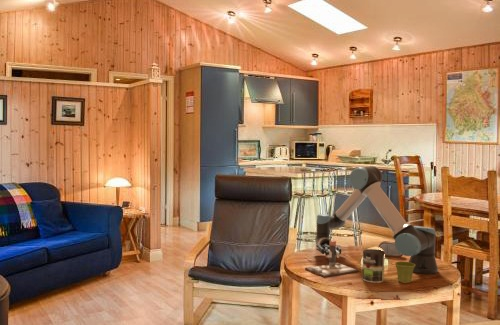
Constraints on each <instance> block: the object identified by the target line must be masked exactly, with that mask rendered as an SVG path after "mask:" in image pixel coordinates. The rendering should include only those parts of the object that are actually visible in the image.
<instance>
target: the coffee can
mask: <svg viewBox="0 0 500 325" xmlns="http://www.w3.org/2000/svg"><path fill="white" fill-rule="evenodd" d="M362 253H363V254H362V277H361V278H362V281H364V282H367V283H371V284H376V283H377V284H380V283H383V282H384V281H385V280H384V276H385V275H384V270H385V256H384V254H385V252H384V251H381V250H379V249H375V248H374V249H373V248H368V249H363V250H362Z"/></svg>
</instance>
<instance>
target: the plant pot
mask: <svg viewBox="0 0 500 325" xmlns="http://www.w3.org/2000/svg"><path fill="white" fill-rule="evenodd" d="M394 264H395V267H396V275H397V281H398V282H399V283H401V284H408V283H409V284H410V283H412V280H413V279H412V278H413V273H414V272H413V269H414V267H415V264H414V263H411V262H409V261H396V262H395V263H394Z"/></svg>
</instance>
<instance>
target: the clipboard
mask: <svg viewBox="0 0 500 325" xmlns="http://www.w3.org/2000/svg"><path fill="white" fill-rule="evenodd" d="M304 270H306V271H308V272H310V273H312V274H314V275H317V276H320V277H323V278H328V277H329V278H330V277H335V276H341V275H343V276H344V275H347V274H355V273H359V269H357V268H353V267H351V266H347V265H345V264H342V263H339V262H335V266H329V263H327V264H322V265H313V266H308V267H304Z"/></svg>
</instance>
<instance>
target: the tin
mask: <svg viewBox="0 0 500 325" xmlns="http://www.w3.org/2000/svg"><path fill="white" fill-rule="evenodd" d="M379 247H380V248H382V249H383V250H384V252H385V255H386V256H385V257H393V258H401V257H402V256H403V255H402V254H401V253H400V252H398V250H397V249H396V247H395V241H387V240H385V241H384V240H383V241H381V242H380V243H379V244H378V248H379Z"/></svg>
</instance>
